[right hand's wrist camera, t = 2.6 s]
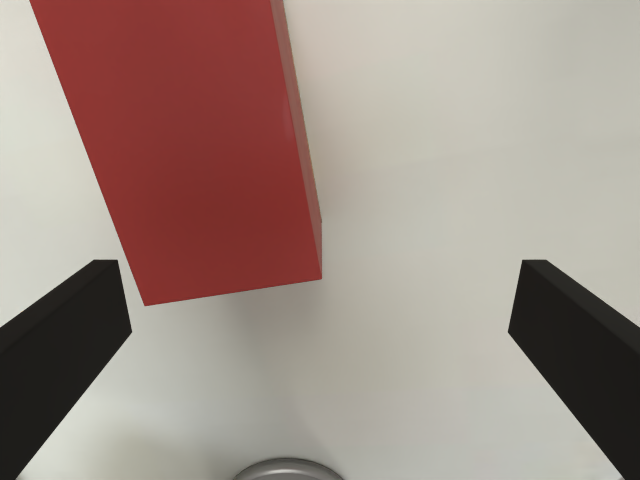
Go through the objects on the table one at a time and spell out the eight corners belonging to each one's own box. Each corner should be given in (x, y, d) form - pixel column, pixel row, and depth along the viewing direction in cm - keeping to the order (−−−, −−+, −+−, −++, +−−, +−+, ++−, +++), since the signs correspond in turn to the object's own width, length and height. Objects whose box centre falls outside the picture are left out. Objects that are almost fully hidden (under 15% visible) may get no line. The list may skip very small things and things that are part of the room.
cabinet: (133, 16, 28) (15, -35, 17) (280, -13, 27) (254, -85, 16) (200, 239, 34) (144, 307, 23) (321, 220, 33) (322, 279, 22)
